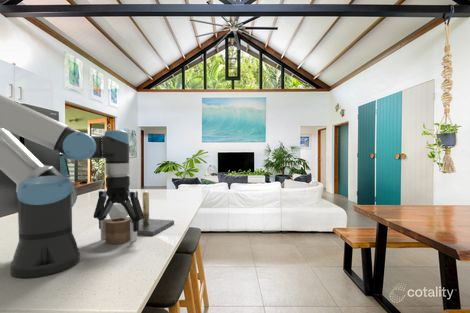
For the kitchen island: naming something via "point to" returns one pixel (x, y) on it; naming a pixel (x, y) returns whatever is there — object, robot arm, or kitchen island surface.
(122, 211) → the die
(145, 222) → the stand
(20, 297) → the kitchen island surface
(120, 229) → the bead
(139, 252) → the kitchen island surface
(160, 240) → the kitchen island surface
